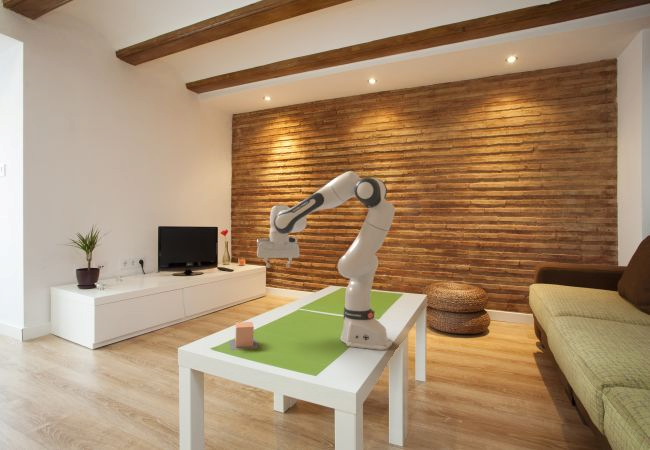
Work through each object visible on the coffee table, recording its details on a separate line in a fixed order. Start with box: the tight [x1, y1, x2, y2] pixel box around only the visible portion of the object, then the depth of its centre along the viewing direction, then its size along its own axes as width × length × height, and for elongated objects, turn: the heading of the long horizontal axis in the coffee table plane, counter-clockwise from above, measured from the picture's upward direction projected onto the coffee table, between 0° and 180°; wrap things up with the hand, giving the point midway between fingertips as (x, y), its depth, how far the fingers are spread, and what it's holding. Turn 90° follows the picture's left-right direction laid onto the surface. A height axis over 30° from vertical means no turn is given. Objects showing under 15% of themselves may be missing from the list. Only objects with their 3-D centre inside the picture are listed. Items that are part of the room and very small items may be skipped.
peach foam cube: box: [234, 321, 255, 347], centre depth 145 cm, size 7×7×8 cm
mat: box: [229, 338, 260, 351], centre depth 144 cm, size 11×11×1 cm
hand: (278, 267), depth 169 cm, fingers open, 8 cm apart
